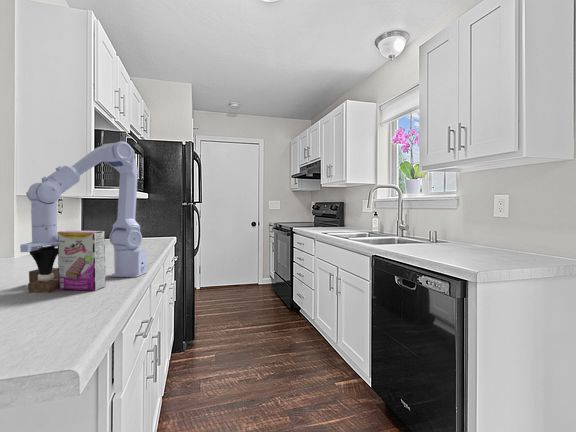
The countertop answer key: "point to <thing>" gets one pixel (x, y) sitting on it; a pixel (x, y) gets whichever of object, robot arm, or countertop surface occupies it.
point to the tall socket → (34, 274)
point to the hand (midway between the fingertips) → (45, 274)
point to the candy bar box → (81, 260)
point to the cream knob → (46, 277)
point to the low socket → (43, 286)
